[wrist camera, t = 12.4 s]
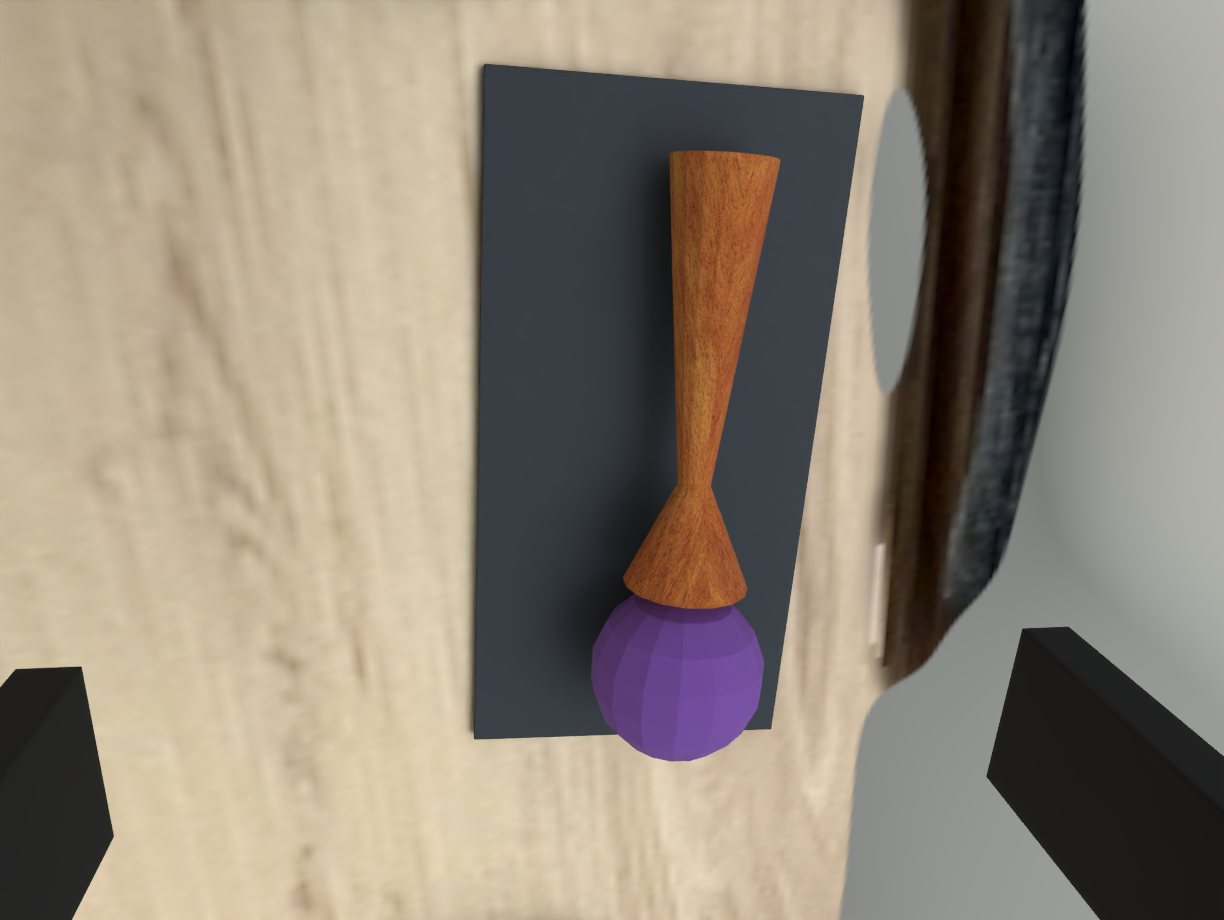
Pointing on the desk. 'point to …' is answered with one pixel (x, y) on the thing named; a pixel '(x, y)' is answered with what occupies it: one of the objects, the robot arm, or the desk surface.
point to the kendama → (694, 489)
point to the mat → (632, 365)
